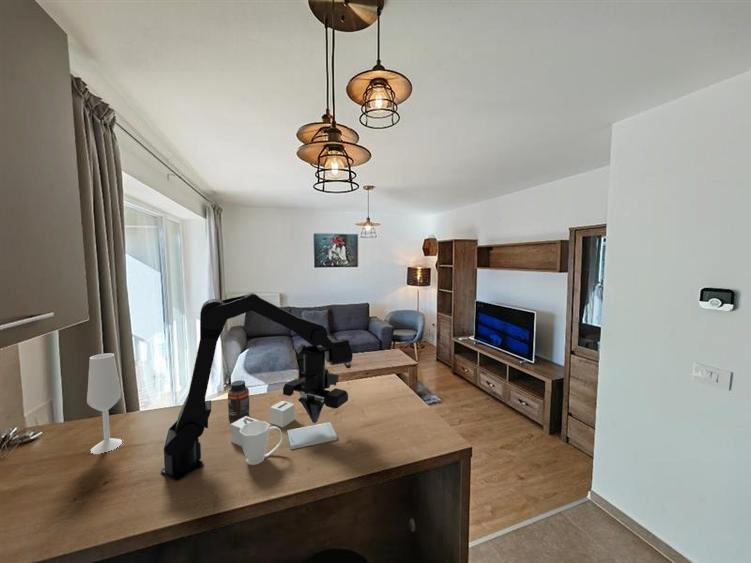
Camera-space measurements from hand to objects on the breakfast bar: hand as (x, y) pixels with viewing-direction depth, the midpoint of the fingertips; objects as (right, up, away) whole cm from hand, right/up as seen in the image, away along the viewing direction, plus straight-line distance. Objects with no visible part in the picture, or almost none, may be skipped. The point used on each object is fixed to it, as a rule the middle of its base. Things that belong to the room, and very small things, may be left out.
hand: (315, 422), depth 88 cm
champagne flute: (-53, -4, -6) cm, 53 cm away
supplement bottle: (-25, -3, +9) cm, 27 cm away
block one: (-11, -3, +7) cm, 14 cm away
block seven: (-18, -4, -3) cm, 19 cm away
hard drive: (-1, -4, -1) cm, 4 cm away
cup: (-11, -4, -10) cm, 16 cm away
